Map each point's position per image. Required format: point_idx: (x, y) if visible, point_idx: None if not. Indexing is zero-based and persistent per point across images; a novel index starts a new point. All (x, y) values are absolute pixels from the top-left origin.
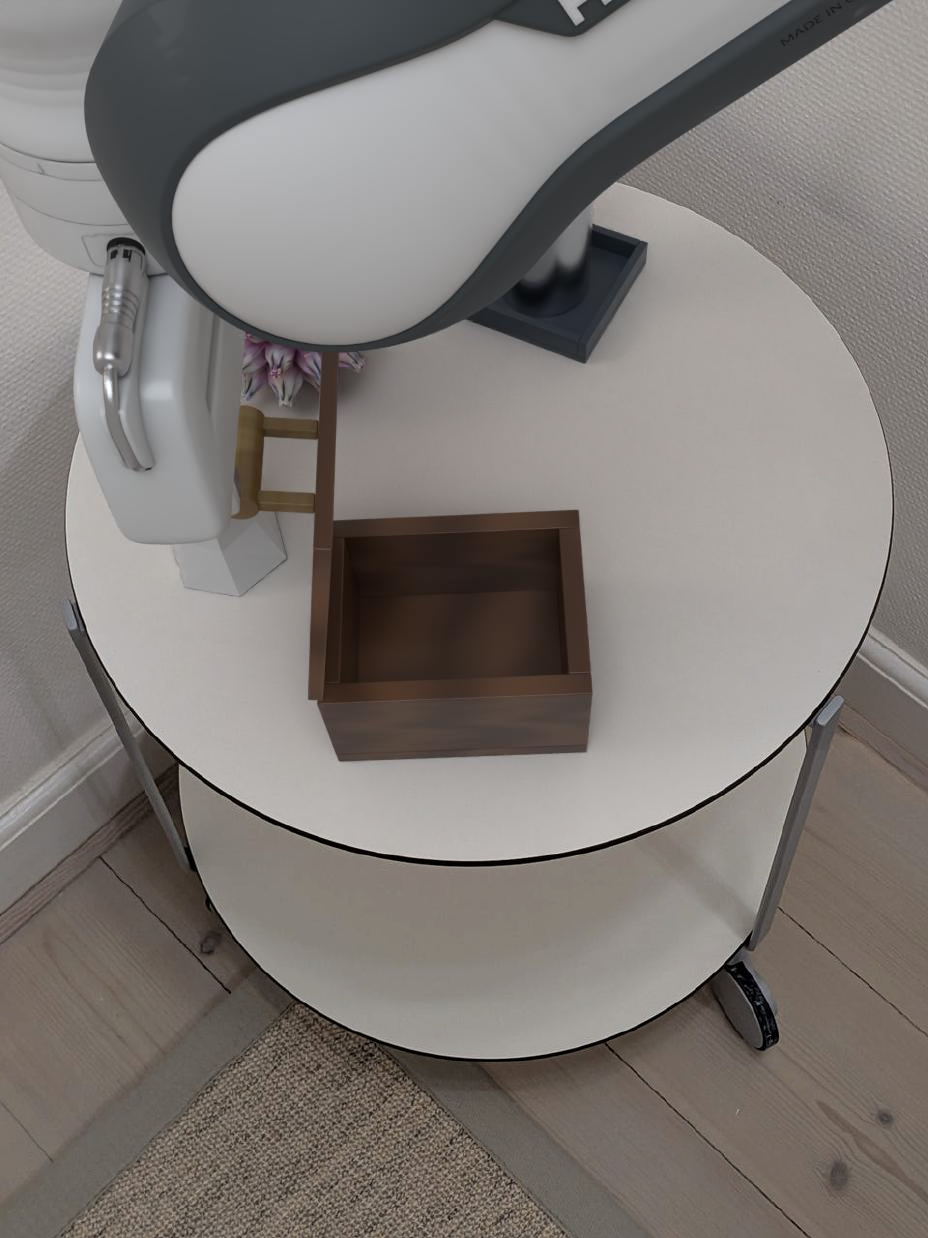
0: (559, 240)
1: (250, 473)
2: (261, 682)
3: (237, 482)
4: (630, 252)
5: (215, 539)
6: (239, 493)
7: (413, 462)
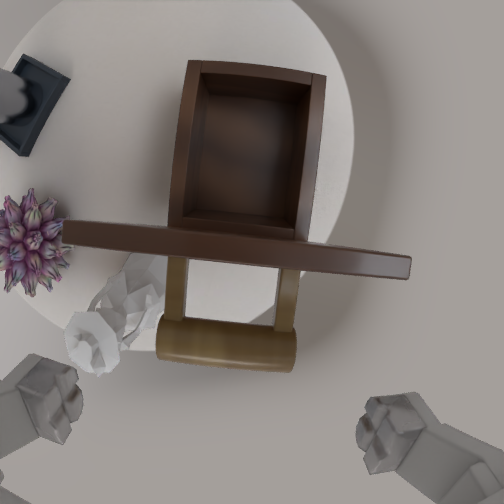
0: (9, 83)
1: (259, 343)
2: (237, 266)
3: (403, 411)
4: (24, 62)
5: (163, 295)
6: (403, 399)
7: (108, 172)
